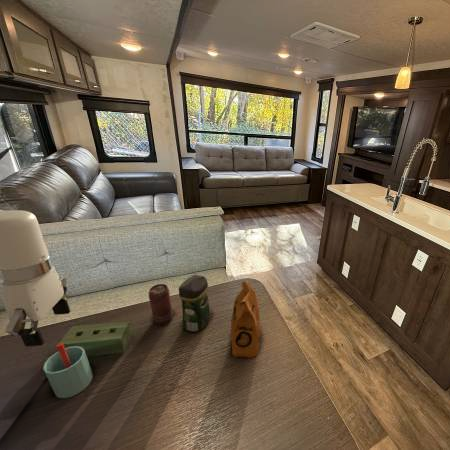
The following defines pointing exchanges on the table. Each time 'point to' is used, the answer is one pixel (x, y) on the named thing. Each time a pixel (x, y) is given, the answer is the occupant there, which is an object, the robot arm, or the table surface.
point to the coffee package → (245, 323)
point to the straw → (63, 355)
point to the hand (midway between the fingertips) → (50, 328)
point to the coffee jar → (195, 303)
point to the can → (160, 304)
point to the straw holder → (99, 338)
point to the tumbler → (68, 372)
